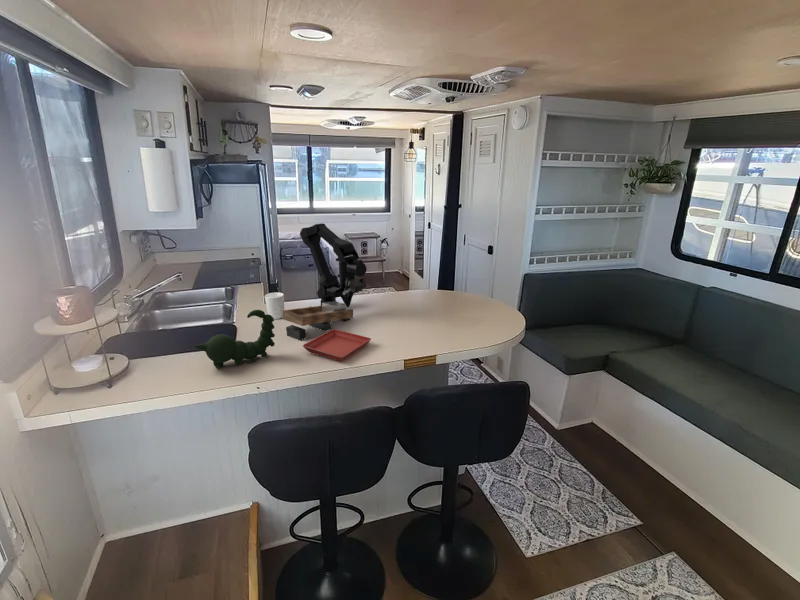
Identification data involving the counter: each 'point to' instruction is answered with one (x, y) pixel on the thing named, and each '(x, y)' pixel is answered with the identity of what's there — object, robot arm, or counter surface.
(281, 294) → the white cup
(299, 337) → the stand
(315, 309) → the wooden tray
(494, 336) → the counter surface
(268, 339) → the toy figurine
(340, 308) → the steel block
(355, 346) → the plant saucer
